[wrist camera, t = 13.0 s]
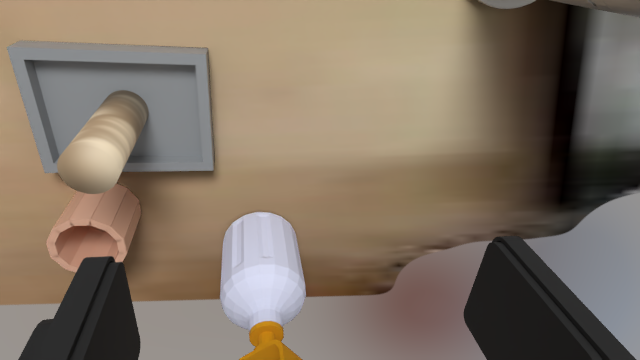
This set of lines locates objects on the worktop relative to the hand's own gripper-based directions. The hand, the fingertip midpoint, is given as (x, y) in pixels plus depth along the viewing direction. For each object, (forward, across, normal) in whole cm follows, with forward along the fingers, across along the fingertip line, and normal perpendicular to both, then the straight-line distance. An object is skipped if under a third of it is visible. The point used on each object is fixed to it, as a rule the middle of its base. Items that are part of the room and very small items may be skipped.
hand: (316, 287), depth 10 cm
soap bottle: (+34, 0, +25) cm, 42 cm away
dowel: (+32, +13, +8) cm, 36 cm away
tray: (+33, +13, +8) cm, 37 cm away
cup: (+33, +17, +20) cm, 42 cm away
